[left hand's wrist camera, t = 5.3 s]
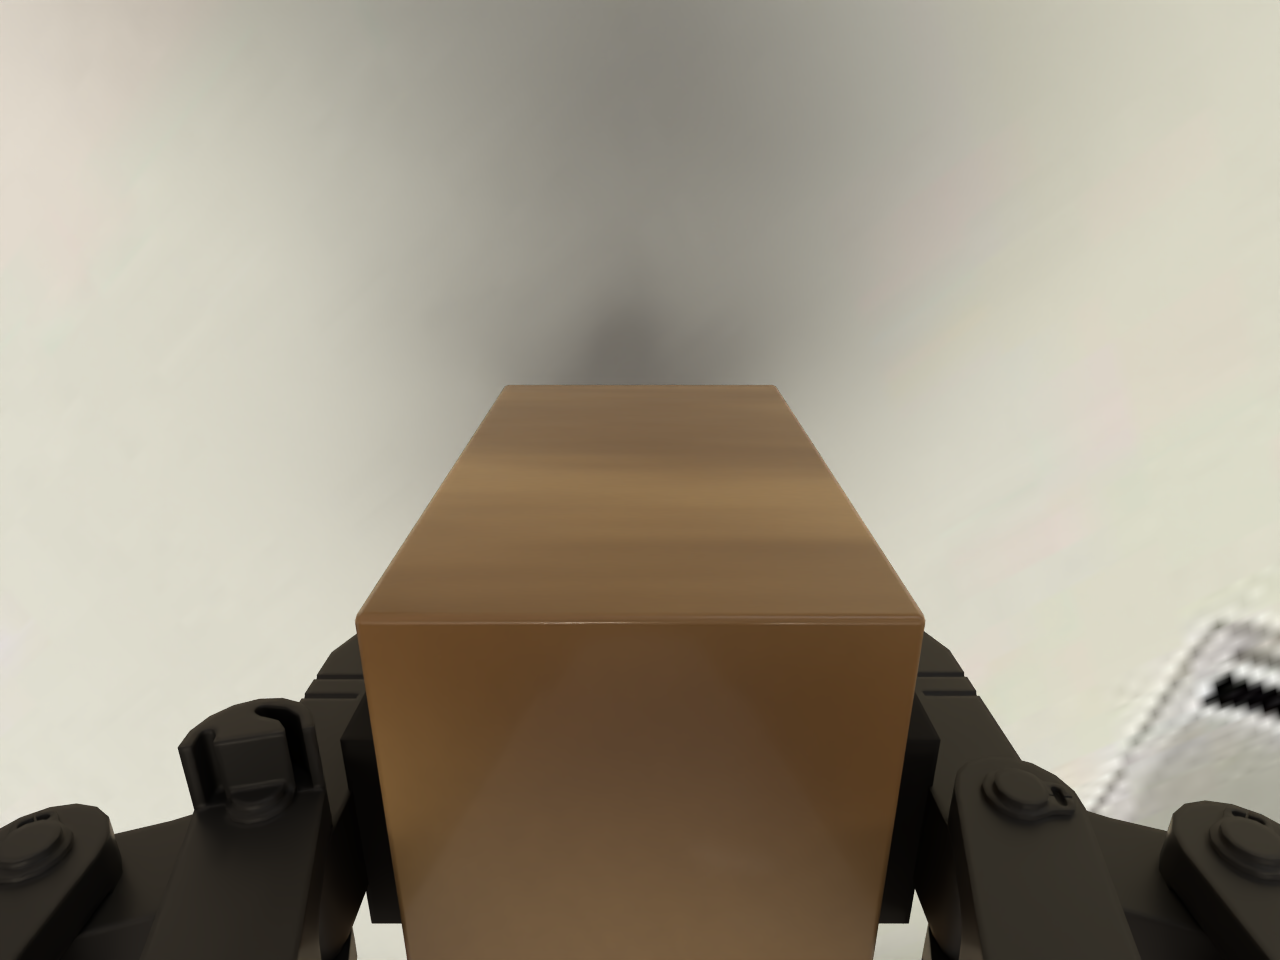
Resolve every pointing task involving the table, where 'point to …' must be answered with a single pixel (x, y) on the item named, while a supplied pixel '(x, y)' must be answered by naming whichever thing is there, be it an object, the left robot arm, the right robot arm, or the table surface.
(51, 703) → the table surface
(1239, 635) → the table surface
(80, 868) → the left robot arm
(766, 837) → the bar
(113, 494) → the table surface
